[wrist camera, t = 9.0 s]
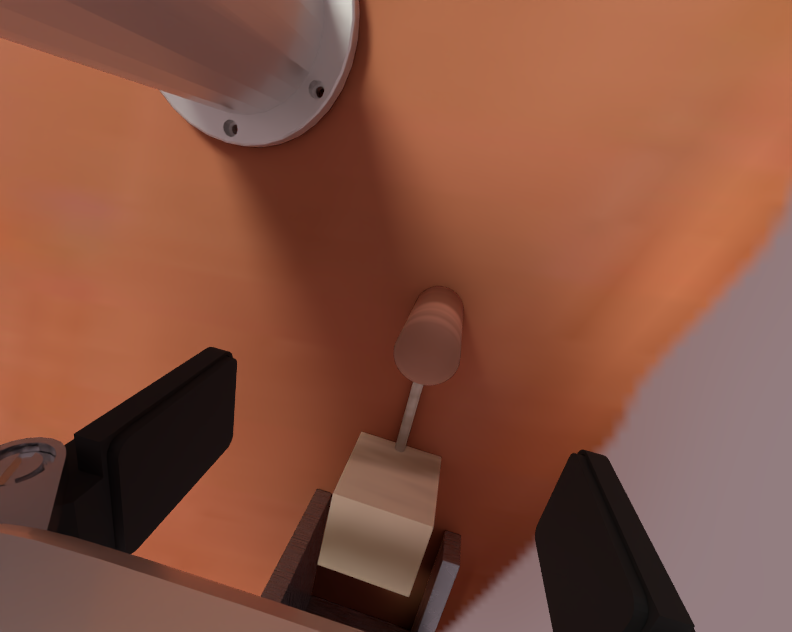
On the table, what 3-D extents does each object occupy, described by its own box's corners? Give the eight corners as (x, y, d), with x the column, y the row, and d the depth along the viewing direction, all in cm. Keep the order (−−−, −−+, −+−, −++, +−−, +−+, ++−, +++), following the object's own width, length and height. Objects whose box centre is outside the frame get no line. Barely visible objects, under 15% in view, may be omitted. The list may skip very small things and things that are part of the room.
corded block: (398, 274, 23) (369, 306, 17) (494, 300, 23) (503, 344, 16) (346, 493, 29) (311, 579, 23) (420, 518, 29) (406, 614, 22)
